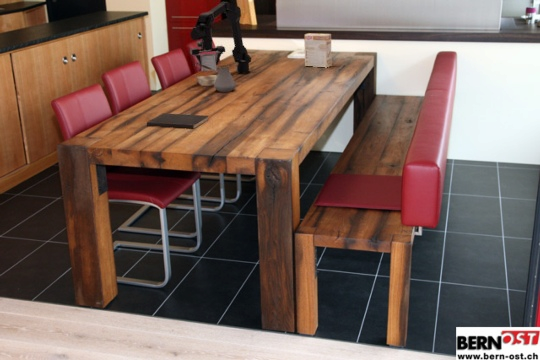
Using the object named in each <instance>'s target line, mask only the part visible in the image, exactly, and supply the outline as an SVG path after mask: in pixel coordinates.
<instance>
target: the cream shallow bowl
mask: <svg viewBox="0 0 540 360" xmlns="http://www.w3.org/2000/svg"><path fill="white" fill-rule="evenodd" d="M217 75H218V74H214V75H213V74H212V75H203V76H196V81H197V83H198V85H200V86H201V87H206V86H214V84H215V81H216V78H217Z"/></svg>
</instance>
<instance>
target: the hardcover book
mask: <svg viewBox="0 0 540 360" xmlns="http://www.w3.org/2000/svg"><path fill="white" fill-rule="evenodd" d="M208 119H209V115H204V114H203V115H199V114H186V113H185V114H182V113H180V114H179V113H165V112H164V113H162V114H159V115H158V116H155V117H154V118H151V119H150V120H149V121H146V126H147V127H154V126H161V127H160V128H170V127H173V128H172V129H185V128H186V129H187V130H188V129H189V130H194V129H196V128H197V127H199V126H200V125H202V124H203V123H205V122H207V121H209V120H208Z"/></svg>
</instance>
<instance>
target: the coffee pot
mask: <svg viewBox="0 0 540 360" xmlns="http://www.w3.org/2000/svg"><path fill="white" fill-rule="evenodd" d="M197 65H199V67H200V66H202V67H204V68H207V69H210V70H212V72H215V73H217V74H216V75H217V78H216V81H215V84H214V85H213V87H214V89H215V90H216V91H218V92H220V93H227V92H228V93H229V92H231V91H233V90H234V89H235V87H236V86H237V85H236V82H235V79H234V78H233V76H232V74H231V72H230V67H231V66H230V65H226V64H223V65H217V68H218V69H216V70H214V69H211V68H209V67H207V66H205V65H202V64H199V62H195V65H194V66H197Z"/></svg>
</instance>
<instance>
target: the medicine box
mask: <svg viewBox="0 0 540 360" xmlns="http://www.w3.org/2000/svg"><path fill="white" fill-rule="evenodd" d="M200 59H201V64H202V65H205V66H207V67H209V68H211V69H214V70H218V69H217V68H218V66H217V65H216V53H210V54H209V53H204V54H200ZM200 70H201V72H207V71H208V72H211V71H212V70H210V69H207V68H204V67H202V66H201V68H200ZM212 72H213V71H212Z"/></svg>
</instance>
